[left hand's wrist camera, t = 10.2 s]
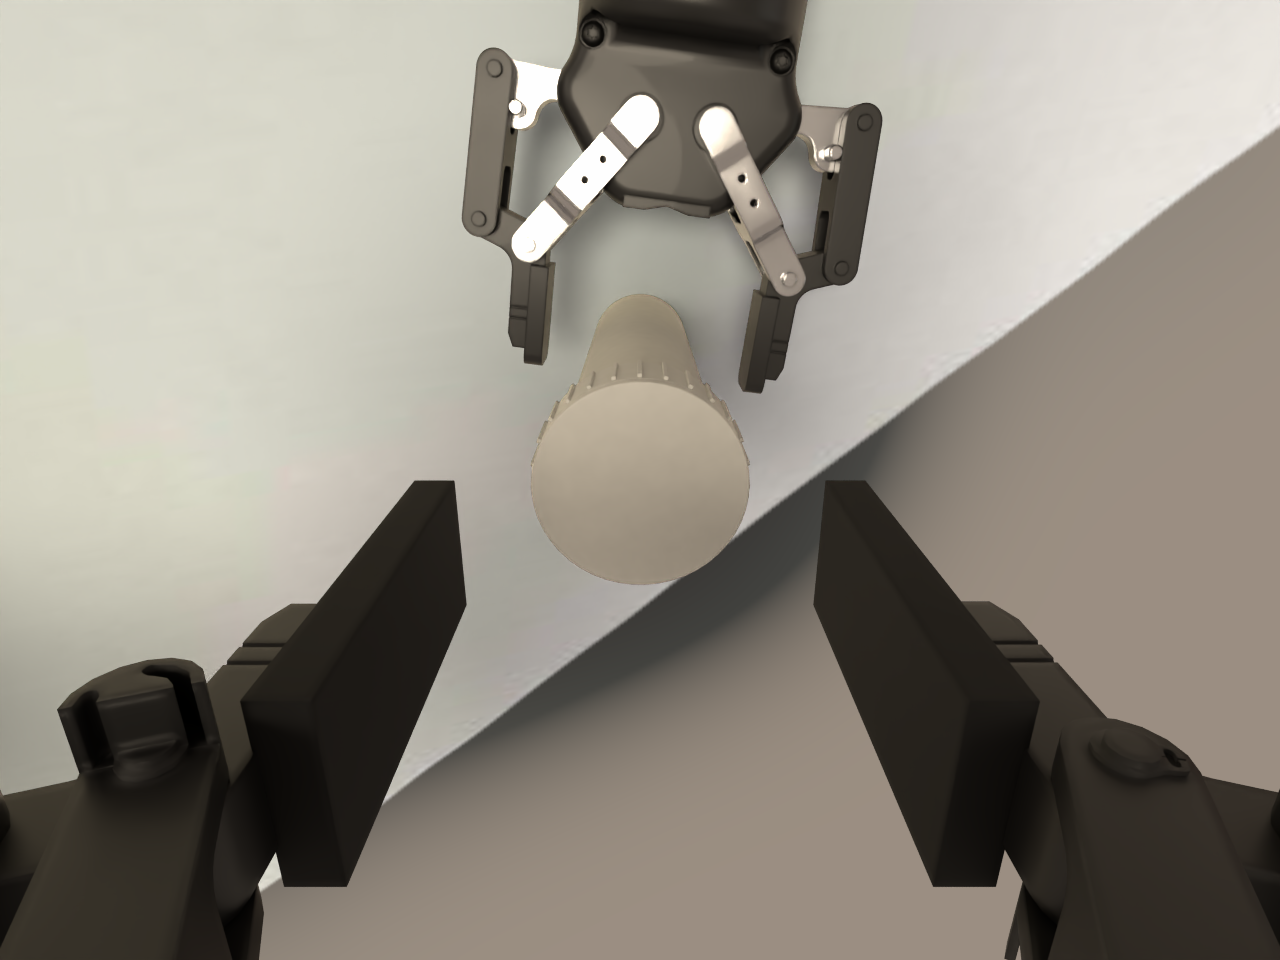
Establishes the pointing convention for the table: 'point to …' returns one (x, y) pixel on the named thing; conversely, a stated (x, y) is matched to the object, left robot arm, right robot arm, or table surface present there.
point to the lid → (640, 474)
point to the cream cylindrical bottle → (640, 336)
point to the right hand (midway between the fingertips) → (643, 374)
